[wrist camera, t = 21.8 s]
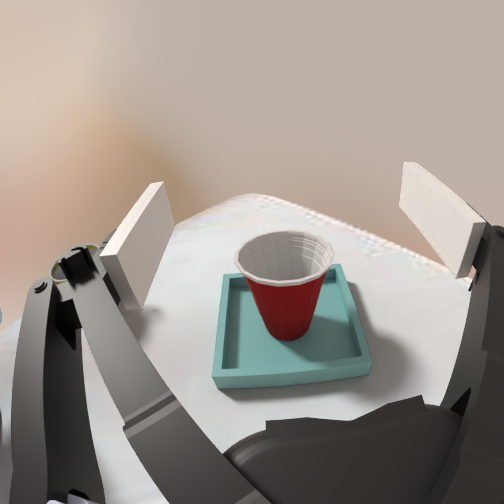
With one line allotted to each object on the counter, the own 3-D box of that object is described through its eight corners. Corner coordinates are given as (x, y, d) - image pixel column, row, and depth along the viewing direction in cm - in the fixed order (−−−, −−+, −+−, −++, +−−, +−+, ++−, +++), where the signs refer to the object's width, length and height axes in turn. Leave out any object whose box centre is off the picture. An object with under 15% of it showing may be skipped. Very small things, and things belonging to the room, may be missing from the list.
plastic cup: (329, 296, 41) (333, 224, 34) (327, 358, 33) (336, 285, 26) (255, 293, 44) (245, 223, 37) (239, 352, 35) (221, 280, 28)
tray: (217, 388, 32) (212, 376, 30) (226, 288, 47) (223, 274, 45) (367, 374, 31) (372, 361, 29) (338, 278, 46) (340, 263, 44)
